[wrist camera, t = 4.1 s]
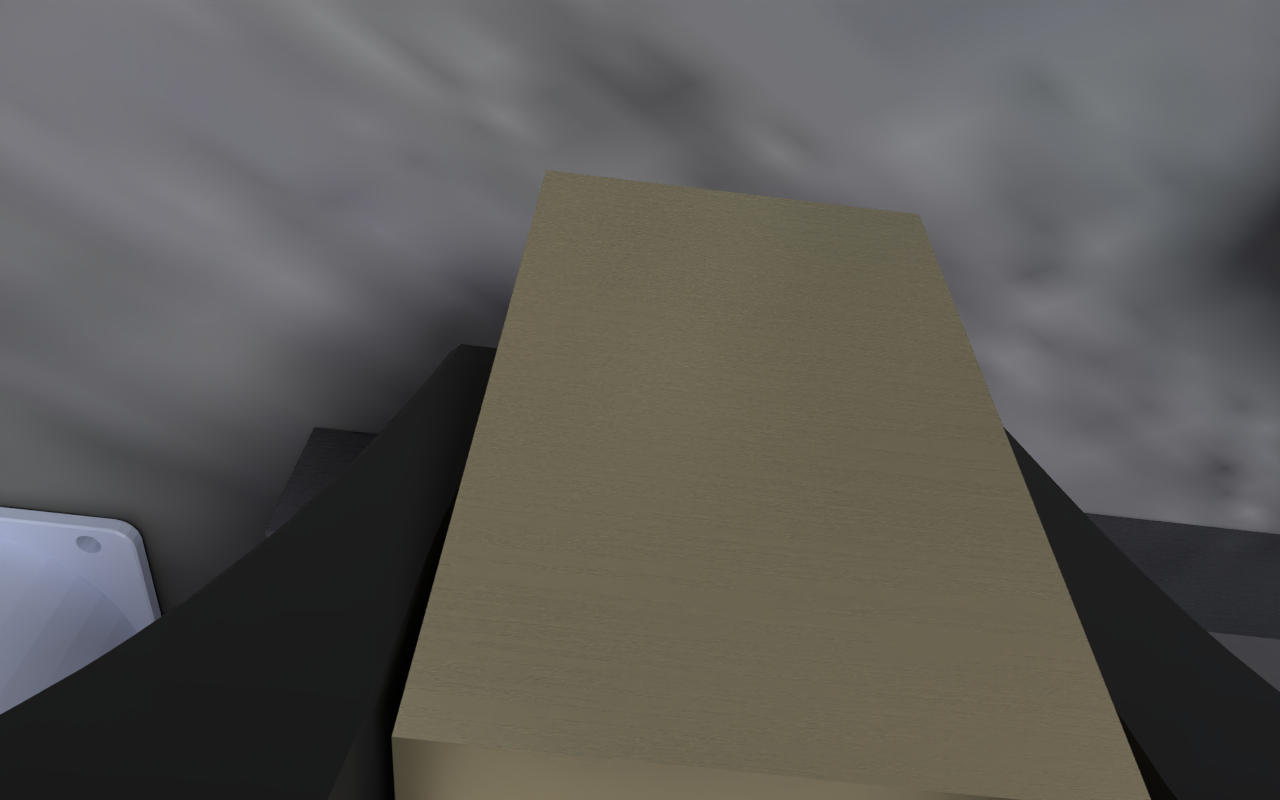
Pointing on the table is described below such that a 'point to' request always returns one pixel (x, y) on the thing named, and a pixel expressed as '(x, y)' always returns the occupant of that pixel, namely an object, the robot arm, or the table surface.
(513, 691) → the brass peg
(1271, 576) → the dark grey slotted block
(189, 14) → the table surface
